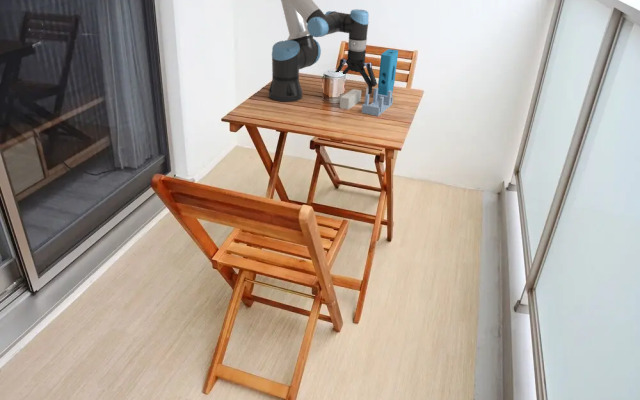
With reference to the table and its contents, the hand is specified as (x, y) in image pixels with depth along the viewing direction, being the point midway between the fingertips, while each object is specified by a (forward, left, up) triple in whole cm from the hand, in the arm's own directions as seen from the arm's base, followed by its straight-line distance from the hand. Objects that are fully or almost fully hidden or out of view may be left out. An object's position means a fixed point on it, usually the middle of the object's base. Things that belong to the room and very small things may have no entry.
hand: (353, 98), depth 214 cm
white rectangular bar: (0, -3, -2) cm, 4 cm away
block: (+9, +16, -2) cm, 18 cm away
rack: (+12, -2, -2) cm, 13 cm away
